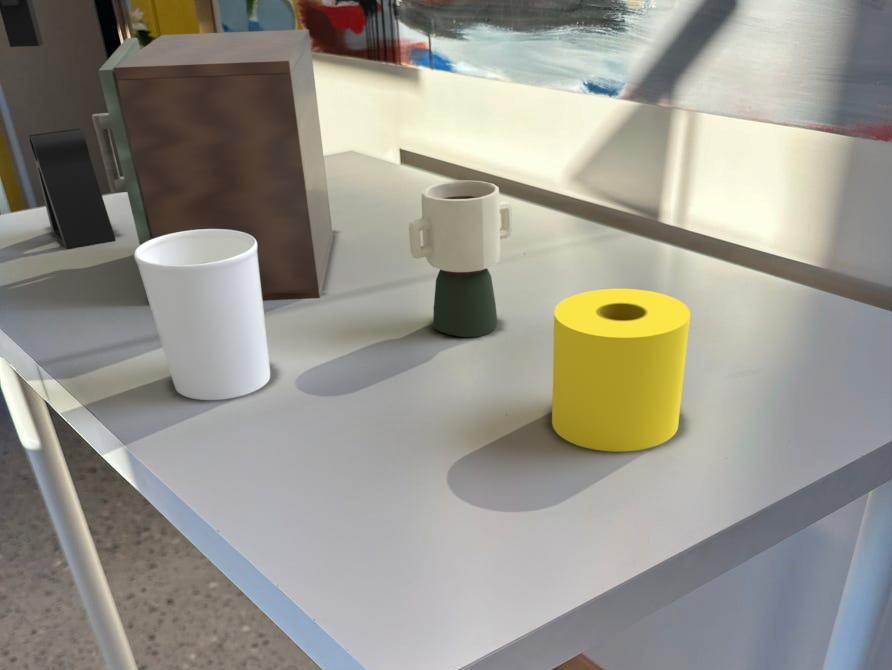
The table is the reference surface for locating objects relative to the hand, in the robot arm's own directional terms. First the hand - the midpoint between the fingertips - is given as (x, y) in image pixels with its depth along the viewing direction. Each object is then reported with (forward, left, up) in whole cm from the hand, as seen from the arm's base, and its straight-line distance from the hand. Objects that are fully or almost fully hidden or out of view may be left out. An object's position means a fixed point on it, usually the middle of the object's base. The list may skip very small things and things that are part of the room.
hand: (26, 45), depth 93 cm
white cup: (+19, -28, -23) cm, 41 cm away
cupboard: (+18, +4, -23) cm, 29 cm away
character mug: (+41, -18, -23) cm, 51 cm away
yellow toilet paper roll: (+52, -40, -23) cm, 70 cm away
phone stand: (-6, +20, -23) cm, 31 cm away
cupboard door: (+5, +3, -23) cm, 24 cm away
